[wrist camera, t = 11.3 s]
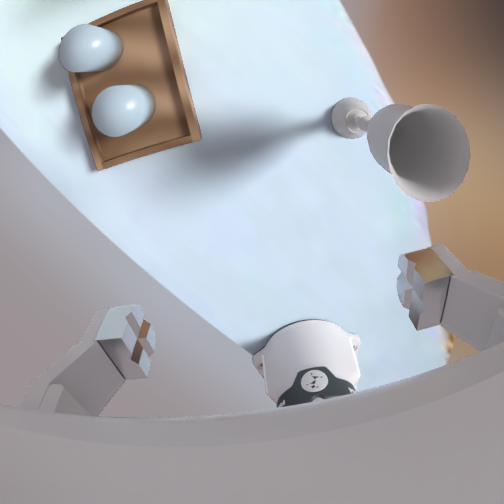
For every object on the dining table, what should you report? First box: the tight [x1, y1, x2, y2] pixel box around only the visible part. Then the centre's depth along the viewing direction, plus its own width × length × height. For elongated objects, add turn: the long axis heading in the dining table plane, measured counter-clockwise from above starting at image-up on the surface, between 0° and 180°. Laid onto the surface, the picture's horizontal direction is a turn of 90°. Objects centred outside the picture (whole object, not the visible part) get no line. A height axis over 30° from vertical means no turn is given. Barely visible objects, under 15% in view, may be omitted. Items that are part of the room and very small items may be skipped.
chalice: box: [331, 98, 470, 202], centre depth 26 cm, size 7×7×18 cm
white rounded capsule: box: [59, 24, 124, 72], centre depth 25 cm, size 5×5×6 cm
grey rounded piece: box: [92, 84, 156, 137], centre depth 29 cm, size 5×5×6 cm
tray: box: [61, 0, 202, 171], centre depth 30 cm, size 18×13×2 cm
